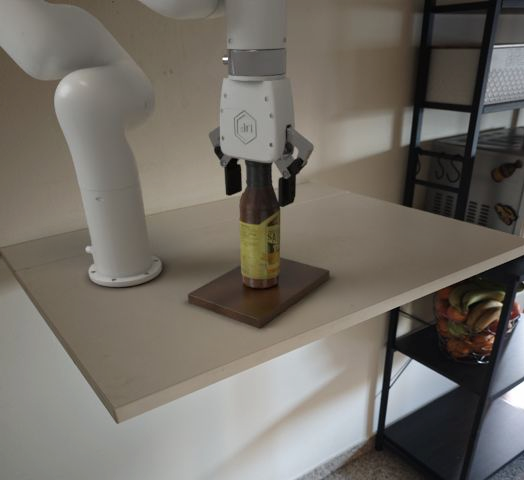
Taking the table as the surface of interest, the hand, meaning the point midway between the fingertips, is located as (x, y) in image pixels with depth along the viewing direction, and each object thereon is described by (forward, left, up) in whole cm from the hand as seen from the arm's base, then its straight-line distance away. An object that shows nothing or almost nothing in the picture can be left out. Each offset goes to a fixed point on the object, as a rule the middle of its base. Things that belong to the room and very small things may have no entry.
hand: (259, 198), depth 73 cm
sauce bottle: (0, 0, -14) cm, 14 cm away
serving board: (0, 0, -15) cm, 15 cm away
